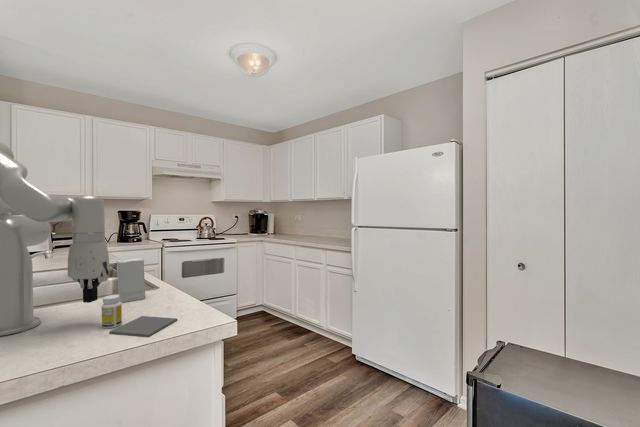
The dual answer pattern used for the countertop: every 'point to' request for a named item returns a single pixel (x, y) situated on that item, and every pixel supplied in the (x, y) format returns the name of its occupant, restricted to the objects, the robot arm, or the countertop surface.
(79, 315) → the countertop surface
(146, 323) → the mat
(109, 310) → the supplement bottle
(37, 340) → the countertop surface
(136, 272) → the skincare box
